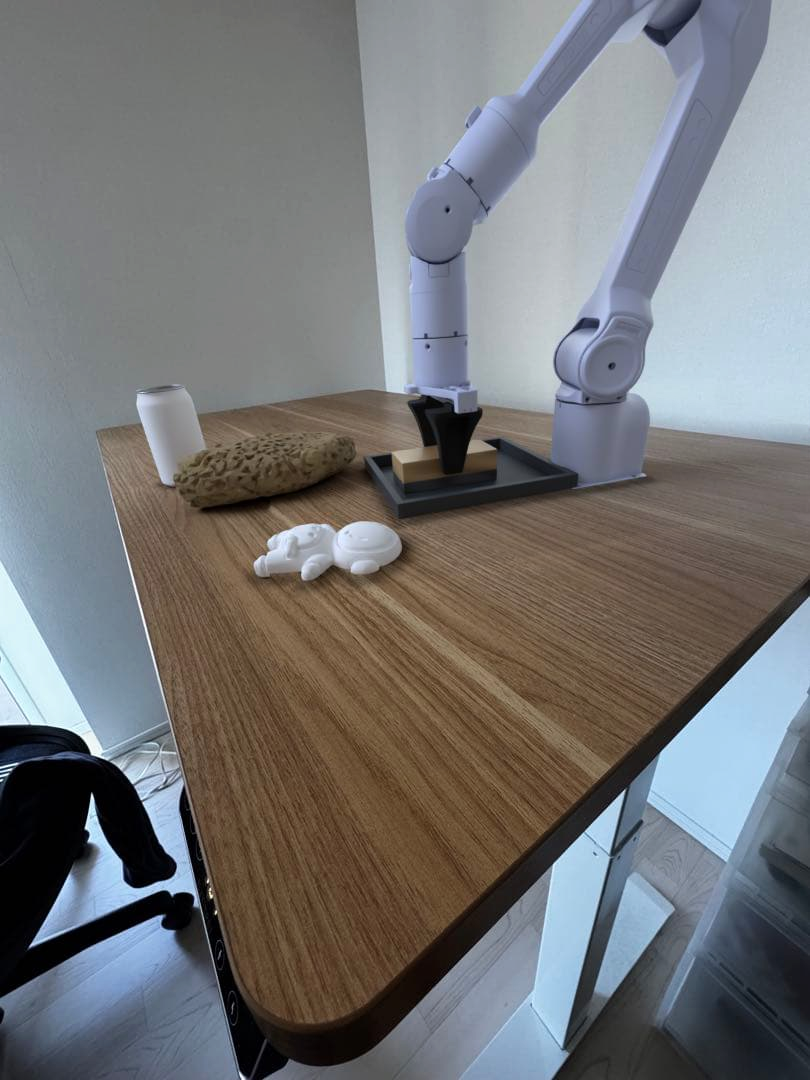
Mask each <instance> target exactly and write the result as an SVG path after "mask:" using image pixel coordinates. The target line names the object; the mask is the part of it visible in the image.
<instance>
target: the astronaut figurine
mask: <svg viewBox="0 0 810 1080" xmlns="http://www.w3.org/2000/svg"><path fill="white" fill-rule="evenodd" d="M266 546H267V549H268V550H269V551H268V552H266V555H263V554H262V555H260V556H259V557H258V558H257V559H256V560H255V561H254V562H253V569H254V572H255V574H256V575H257V576H258V577H260V578H271V574H289V573H300V572H301V574H300V576H301V580H302V581H304V582H309V581H312V580H315V579H316V578H318V577H319V576H320V575H322V574H323V573H325V572H326V570H328V569H329V568H330V567H331V566H335V567H338V568H341V569H344V570H345V569H346V570H349V569H350V572H351V574H354V575H369V574H373V573H376V572H377V571H379V570H380V567H385V566H386V565H389V564H390V563H392V562H393V561H395V560H396V559H397V558H398V557H399V556H400V555H401V552H402V549H403V545H402V541H401V539H400V537H399V535H398V534H397V533H396V531H394V530H393V529H392V528H390V527H388V526H387V525H385V524H383V523H381V522H375V521H367V520H366V521H365V520H362V521H361V520H360V521H355V522H352V523H349V524H347V525H345V526H344V527H343V528H341V529H340V530H337V531H336V530H335V528H333V526H331V525H330V524H328V523H322V524H318V523H307V524H300V525H297V526H293V527H292V528H290V529H286V530H283V531H281V532H279V533H276V534H274V535H272V536H271V537H270V538H269V539H268V540H267V545H266Z"/></svg>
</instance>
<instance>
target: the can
mask: <svg viewBox="0 0 810 1080" xmlns="http://www.w3.org/2000/svg"><path fill="white" fill-rule="evenodd" d="M185 387H186V385H185V384H168V385H167V384H166V385H159V386H152V387H145V388H140V389H137V390H135V393H136V396H137V397H136V402H135V403H136V404H135V405H136V409H137V412H138V415H139V419H140V421H141V425H142V428H143V431H144V434H145V436H146V440H147V443H148V445H149V448H150V451H151V454H152V458H153V460H154V463H155V467H156V469H157V472H158V475H159V478H160V480H161V483H162V484H164V485H165V486H167V487H170V488H176V487H175V483H174V480H173V476H174V474H177V473H178V468H179V467H178V463H179V462H180V460H181V459H182V458H183V457H189V456H191V455H193V454H194V453H199V452H201V451H203V450H207V446H206V444H205V439H204V436H203V432H202V429H201V426H200V422H199V417H198V414H197V411H196V408H195V405H194V402H193V401H194V400H193V398H192V396H191V395H190V393H189V392H188V391H187V390H186V388H185Z"/></svg>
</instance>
